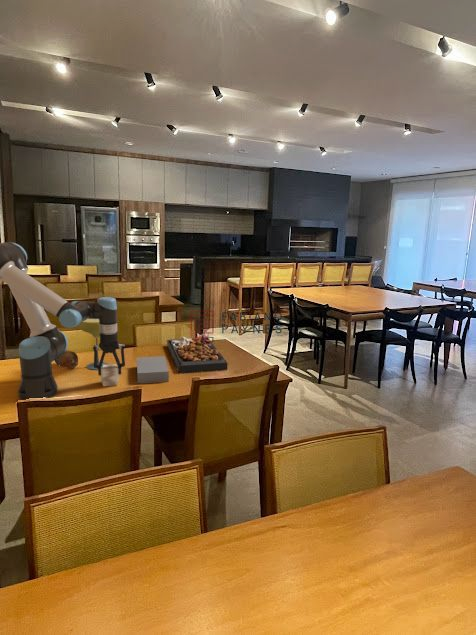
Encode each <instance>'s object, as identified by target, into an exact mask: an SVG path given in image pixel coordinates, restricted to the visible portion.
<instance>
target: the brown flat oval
mask: <svg viewBox="0 0 476 635" xmlns="http://www.w3.org/2000/svg"><path fill="white" fill-rule="evenodd" d="M54 363H55V364H56V365H57V366H58V365H60V366H59V367H61V366H62V367H61V368H65V367H66V369H69V370H71V369H73V368H76V367H77V366H78V364H79V356H78V355H77V353H76V352H75V351H73V350H72V351H71V350H67V349H66V351H65V352H64V353H63V354H62V355H61V356H60V357H58V358H57V359H55V360H54Z"/></svg>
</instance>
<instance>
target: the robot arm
mask: <svg viewBox="0 0 476 635" xmlns="http://www.w3.org/2000/svg"><path fill="white" fill-rule="evenodd" d="M27 260H28V254H27V251H26V250H25V249H24V248H23V246H22V245H20V244H18V243H16V242H9V241H4V242H0V282H4V283H5V284H6V285H7V286H8V287H9V289H10V292H11V293H12V296H13V297H14V299H15V301H16V305H18V308H19V309H20V312H21V314H22V317H23V318H24V320H25V321H26V324H27V325H28V328H29V330H30V335H29V337H27V338H25V339H23V340H22V341H21V342H19V345H18V356H19V366H20V375H21V379H20V382H19V385H18V386H19V387H18V391H17V394H18V395H17V396H18V398H19V399H20V398H21V399H20V400H23V399H29V398H43V397H49V398H52V397H54V396H55V395H56V394H58V391H59V388H58V384H57V381H56V380H55V377H54V375H53V367H52V362H55V359H57V358H58V357H60V356H61V355H62V354H63V353H64V352H65V351H66V350H67V348H68V346H69V341H68V337H67V335H66V334H65V333H64V332H62V331H60V330H59V329H58V327H57V325H55V324H53V323H51V321H50V318H49V317H48V315H47V313H46V311H47V312H48V313H50V314H52V316H55V317H56V318H58V320H59V323H60V325H61V326H62V327H63V328H66V329H72V328H75V327H77V326H78V325H79V324H80V323H82V322H83V321H85V320H86V319H99V330H100V332H101V333H100V336H99V342H98V343H99V344H98V345H96V344H94V345H93V346H92V349H93V363H94V368H98V370H97V371H98V374H97V375H98V376H100V378H101V380H100V382H101V384H103V374H102V368H103V367H101V366H102V363H103V362H104V360H105V355H106V354H109V353H110V354H112V356H113V357H114V360H115V364H117V383H119V382H120V381H119V380H120V375H122V368H123V367H126V360H125V348H126V347H125V343H122V344H120V343H119V341H118V339H119V338H118V307H117V299H116V298H115V297H112V296H111V297H110V296H103V297H98V299H97V301H88V300H87V301H85V300H84V301H82V300H74V301H71V302H69V301H67V299H65V298H63V297H62V296H60V295H59V294H57V293H55V292H54V291H53V290H52V289H50V288H48V287H47V286H45V285H44V284H43V283H41V282H39V281H38V280H37V279H35V278H33V277H32V276H30V275H29V274H28V272H29V266H28V265H27V262H28V261H27ZM99 348H100V350H101V351H102V353H101V356H100V358H99V365H98V364H97V350H98V351H99ZM117 349H119V350H120V356H121V362H120V359H119V356H118V353H117Z"/></svg>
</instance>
